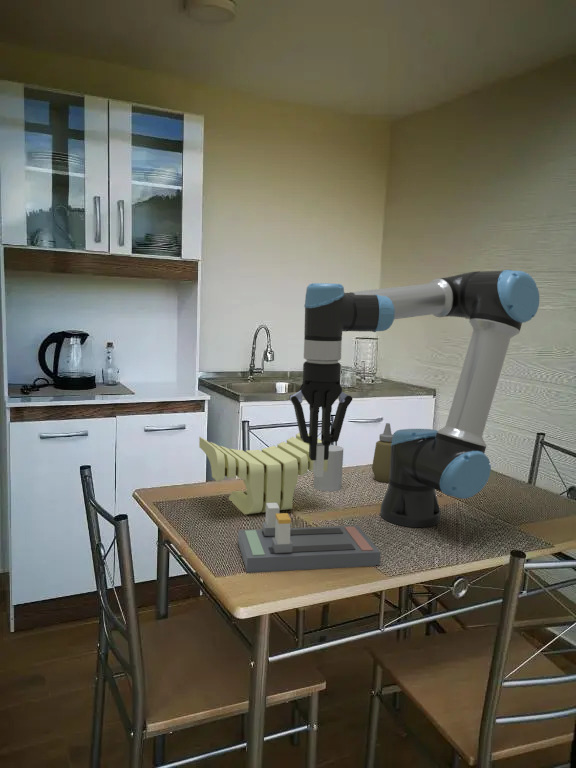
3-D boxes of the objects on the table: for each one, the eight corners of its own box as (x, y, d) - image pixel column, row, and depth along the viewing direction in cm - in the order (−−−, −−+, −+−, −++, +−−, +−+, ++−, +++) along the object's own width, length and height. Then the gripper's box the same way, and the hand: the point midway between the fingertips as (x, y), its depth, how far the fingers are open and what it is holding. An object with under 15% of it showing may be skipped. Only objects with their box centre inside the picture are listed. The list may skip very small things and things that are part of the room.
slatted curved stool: (216, 522, 146) (217, 451, 144) (198, 501, 160) (199, 436, 158) (325, 509, 158) (328, 443, 156) (299, 491, 173) (302, 430, 170)
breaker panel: (357, 537, 140) (359, 498, 139) (379, 565, 125) (382, 522, 124) (238, 542, 134) (239, 501, 133) (246, 572, 120) (248, 526, 118)
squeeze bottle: (367, 480, 186) (370, 423, 183) (377, 474, 193) (380, 419, 190) (391, 485, 182) (395, 427, 179) (401, 479, 189) (405, 423, 186)
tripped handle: (288, 545, 126) (289, 513, 125) (292, 552, 122) (293, 519, 121) (271, 545, 125) (272, 513, 124) (274, 553, 122) (276, 520, 121)
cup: (324, 481, 183) (326, 443, 181) (346, 487, 178) (348, 448, 176) (308, 487, 177) (310, 447, 175) (330, 493, 172) (332, 452, 170)
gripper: (347, 359, 125) (343, 469, 128) (286, 359, 122) (283, 470, 126) (359, 363, 118) (353, 479, 121) (294, 363, 115) (290, 481, 119)
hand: (318, 475), depth 124 cm, fingers closed
